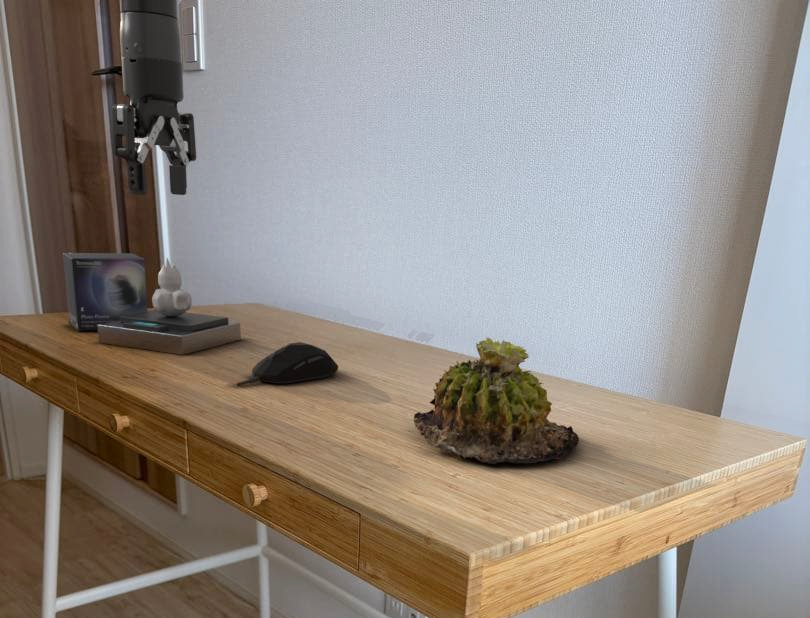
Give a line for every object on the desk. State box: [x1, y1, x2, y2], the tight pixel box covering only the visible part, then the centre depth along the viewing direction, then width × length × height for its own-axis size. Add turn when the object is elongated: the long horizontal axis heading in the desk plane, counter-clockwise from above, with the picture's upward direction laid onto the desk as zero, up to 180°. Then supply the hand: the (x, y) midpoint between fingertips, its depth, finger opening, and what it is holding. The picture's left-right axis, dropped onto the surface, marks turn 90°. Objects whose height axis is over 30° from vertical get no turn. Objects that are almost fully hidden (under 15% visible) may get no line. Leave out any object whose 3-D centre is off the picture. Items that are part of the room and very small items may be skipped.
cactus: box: [413, 337, 580, 465], centre depth 79 cm, size 17×16×10 cm
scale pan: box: [120, 309, 229, 331], centre depth 118 cm, size 12×9×1 cm
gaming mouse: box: [236, 341, 339, 387], centre depth 100 cm, size 6×15×4 cm, turn 139°
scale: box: [97, 320, 242, 356], centre depth 118 cm, size 14×14×3 cm
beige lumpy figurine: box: [151, 257, 193, 317], centre depth 117 cm, size 5×7×8 cm
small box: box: [62, 252, 148, 332], centre depth 124 cm, size 11×6×10 cm, turn 122°
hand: (159, 194), depth 113 cm, fingers open, 8 cm apart
